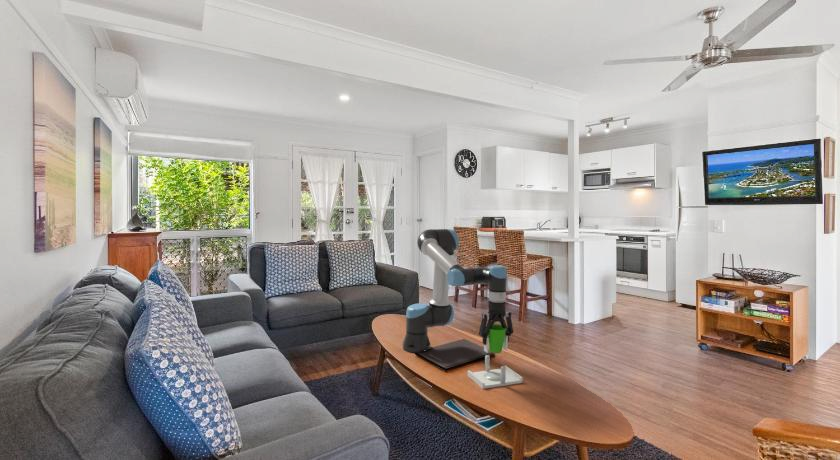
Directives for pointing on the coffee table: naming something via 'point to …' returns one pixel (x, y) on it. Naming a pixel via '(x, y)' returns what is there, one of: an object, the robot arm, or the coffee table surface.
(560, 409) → the coffee table surface
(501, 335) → the cup
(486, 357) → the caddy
